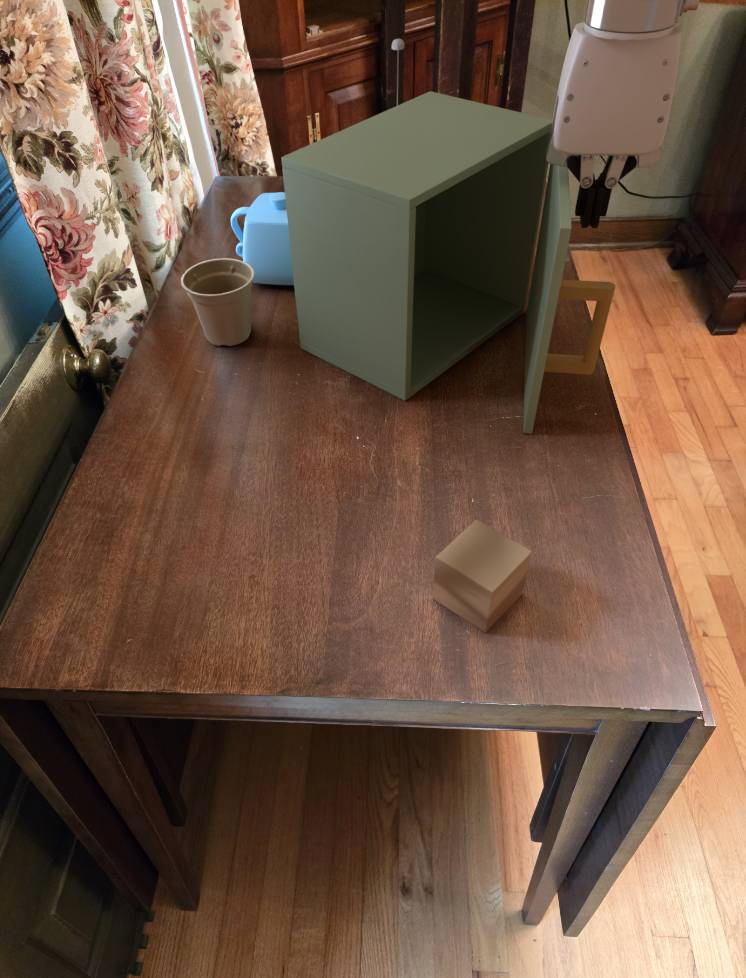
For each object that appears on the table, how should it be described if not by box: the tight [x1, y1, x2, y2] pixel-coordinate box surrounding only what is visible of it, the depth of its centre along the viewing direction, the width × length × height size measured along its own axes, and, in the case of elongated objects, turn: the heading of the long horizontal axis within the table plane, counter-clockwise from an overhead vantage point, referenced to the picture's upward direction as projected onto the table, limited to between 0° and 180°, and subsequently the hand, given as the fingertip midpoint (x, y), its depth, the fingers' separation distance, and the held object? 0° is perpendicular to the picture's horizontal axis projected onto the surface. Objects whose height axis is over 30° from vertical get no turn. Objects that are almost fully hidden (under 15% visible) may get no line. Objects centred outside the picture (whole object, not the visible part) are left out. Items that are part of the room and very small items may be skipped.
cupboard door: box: [522, 163, 616, 435], centre depth 82 cm, size 6×26×24 cm, turn 169°
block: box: [432, 519, 533, 634], centre depth 65 cm, size 6×6×6 cm
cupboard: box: [281, 91, 553, 402], centre depth 89 cm, size 18×26×24 cm
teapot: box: [230, 191, 294, 286], centre depth 106 cm, size 12×18×12 cm
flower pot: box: [180, 257, 254, 347], centre depth 96 cm, size 9×9×9 cm
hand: (588, 222), depth 75 cm, fingers closed
